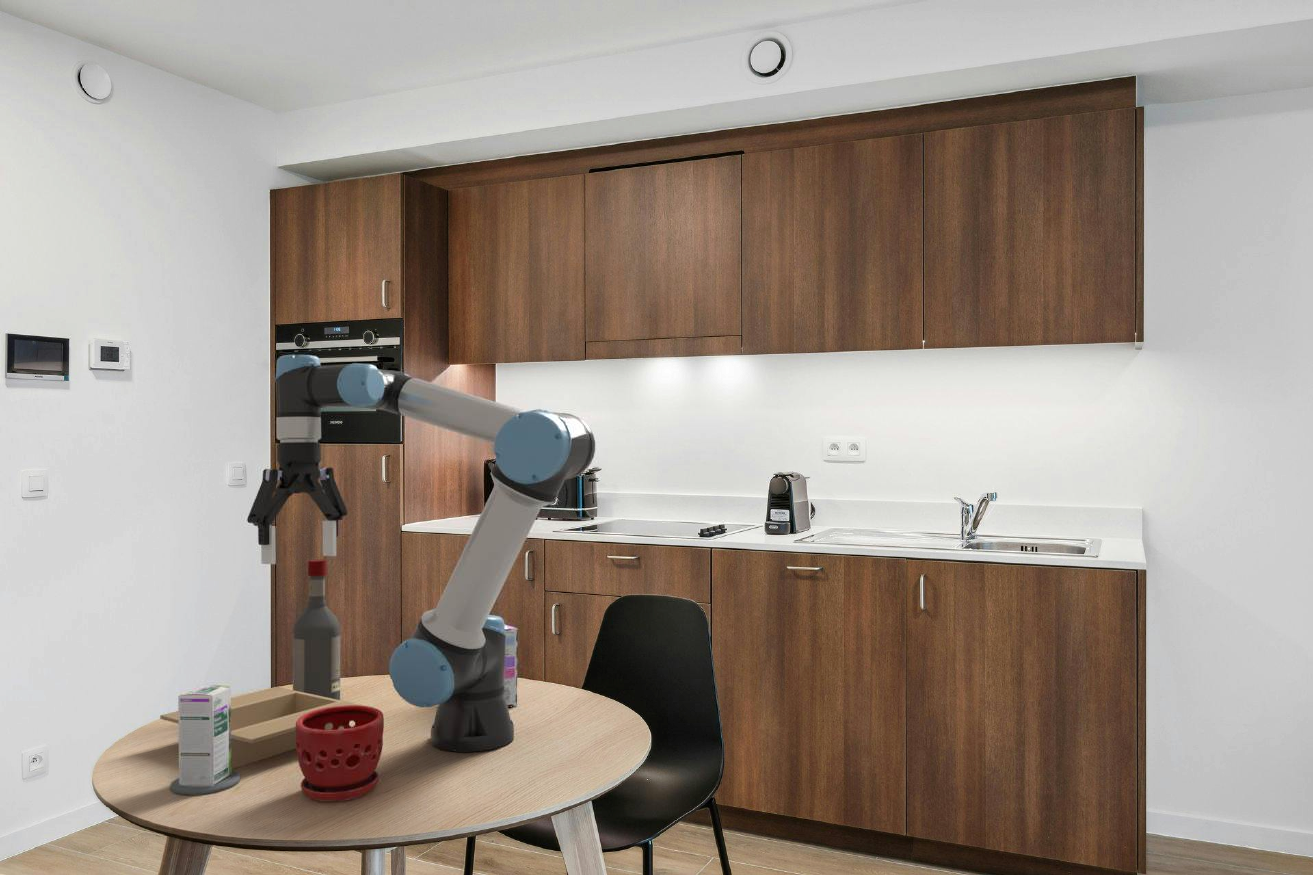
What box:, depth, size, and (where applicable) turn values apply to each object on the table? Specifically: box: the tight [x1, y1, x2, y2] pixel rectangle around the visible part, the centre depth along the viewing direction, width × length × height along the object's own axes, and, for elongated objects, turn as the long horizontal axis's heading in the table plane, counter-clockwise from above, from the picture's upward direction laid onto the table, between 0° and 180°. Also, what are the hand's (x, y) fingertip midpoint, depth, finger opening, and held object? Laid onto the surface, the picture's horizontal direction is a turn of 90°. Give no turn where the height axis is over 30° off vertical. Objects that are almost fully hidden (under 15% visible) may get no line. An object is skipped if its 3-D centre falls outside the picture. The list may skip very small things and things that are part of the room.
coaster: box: [170, 770, 241, 796], centre depth 151 cm, size 10×10×1 cm
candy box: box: [505, 624, 519, 708], centre depth 201 cm, size 14×6×16 cm, turn 34°
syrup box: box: [177, 684, 233, 787], centre depth 151 cm, size 6×6×14 cm
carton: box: [159, 686, 366, 769], centre depth 172 cm, size 26×24×6 cm
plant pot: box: [296, 704, 385, 803], centre depth 148 cm, size 13×13×12 cm
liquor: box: [292, 558, 342, 700], centre depth 199 cm, size 9×9×30 cm
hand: (300, 559), depth 170 cm, fingers open, 13 cm apart
